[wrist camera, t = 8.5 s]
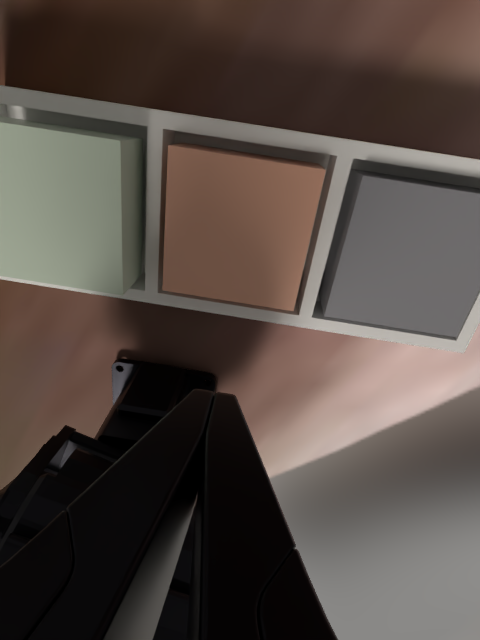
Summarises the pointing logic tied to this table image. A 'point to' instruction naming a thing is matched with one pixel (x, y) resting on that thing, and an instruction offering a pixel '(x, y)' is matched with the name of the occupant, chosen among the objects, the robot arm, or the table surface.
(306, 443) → the table surface
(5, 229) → the sage key
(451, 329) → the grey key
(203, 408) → the robot arm
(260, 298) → the terracotta key
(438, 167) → the light grey divided tray
